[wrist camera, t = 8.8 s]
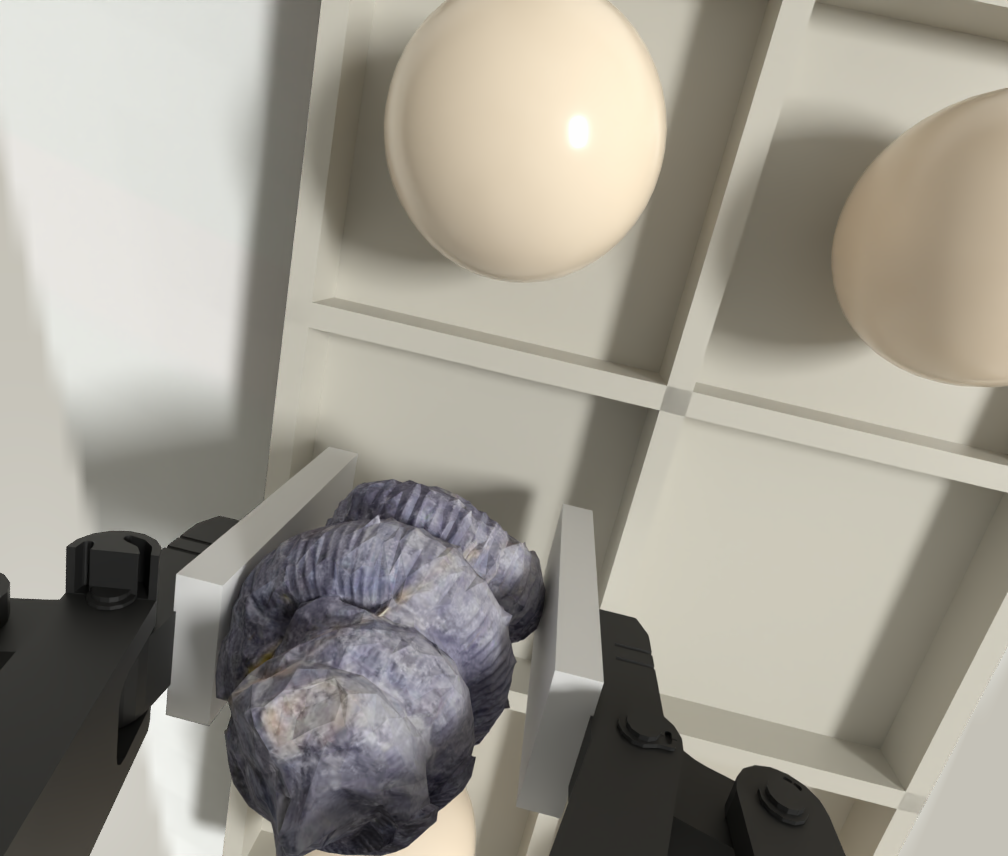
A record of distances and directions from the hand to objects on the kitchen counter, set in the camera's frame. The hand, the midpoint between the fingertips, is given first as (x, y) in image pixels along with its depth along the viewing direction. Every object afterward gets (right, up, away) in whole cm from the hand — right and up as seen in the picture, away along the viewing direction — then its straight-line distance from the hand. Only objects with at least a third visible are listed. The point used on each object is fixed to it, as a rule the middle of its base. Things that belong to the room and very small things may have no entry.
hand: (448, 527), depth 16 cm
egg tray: (+5, -1, +2) cm, 5 cm away
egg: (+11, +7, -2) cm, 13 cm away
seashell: (0, 0, +1) cm, 1 cm away
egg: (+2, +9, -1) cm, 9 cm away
